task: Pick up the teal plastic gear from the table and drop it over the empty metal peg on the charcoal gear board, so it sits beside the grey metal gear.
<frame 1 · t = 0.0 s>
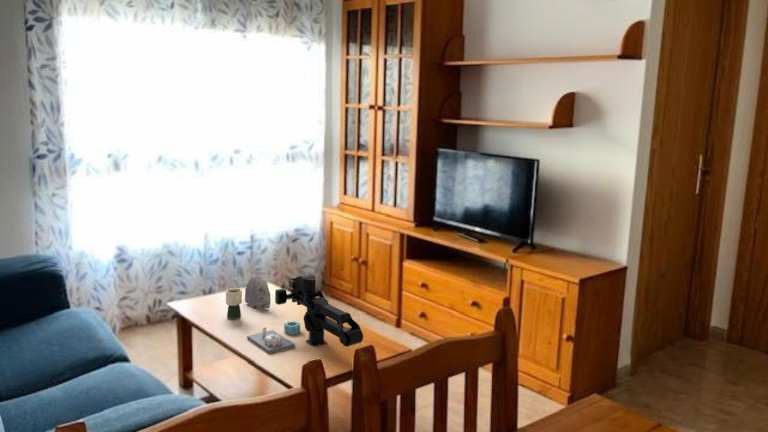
hand: (285, 288, 287), 17 cm above the table, fingers open, 9 cm apart
decorative rock: (257, 307, 311), on the table
gear board: (270, 343, 269), on the table
character mug: (234, 318, 296), on the table
teal gear: (292, 331, 282), on the table
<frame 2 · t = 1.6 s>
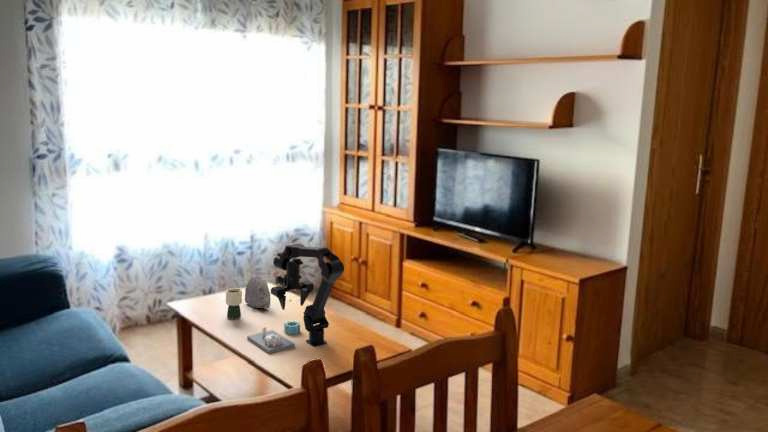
hand: (292, 307, 280), 11 cm above the table, fingers open, 9 cm apart
nothing on the table moved.
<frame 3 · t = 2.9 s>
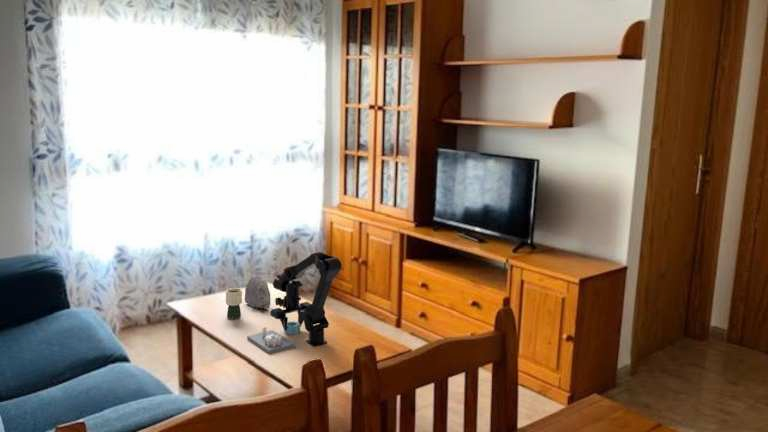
hand: (292, 328, 282), 1 cm above the table, fingers closed on teal gear, 7 cm apart
teal gear: (292, 331, 282), on the table, touching gripper
everything else where it was.
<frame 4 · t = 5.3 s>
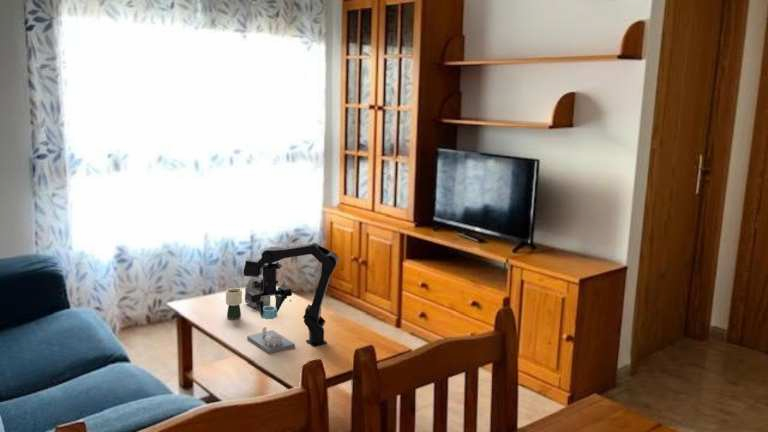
hand: (268, 313, 271), 11 cm above the table, fingers closed on teal gear, 7 cm apart
teal gear: (268, 316, 271), point 10 cm above the table, touching gripper
everything else where it was.
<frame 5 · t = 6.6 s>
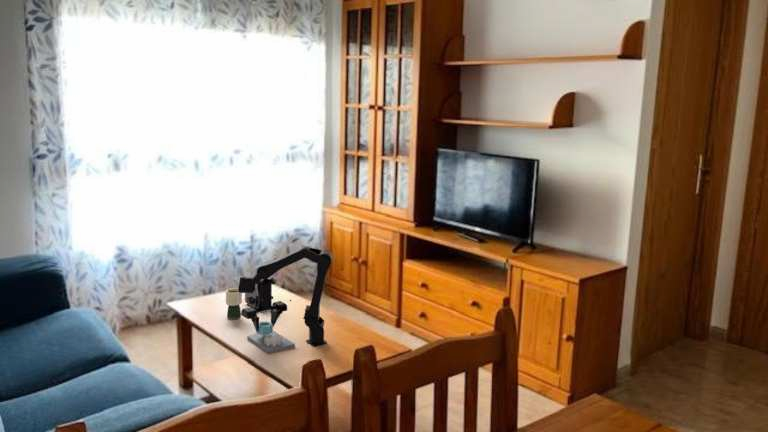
hand: (264, 329, 270), 5 cm above the table, fingers closed on teal gear, 7 cm apart
teal gear: (264, 331, 270), point 4 cm above the table, touching gripper
everything else where it was.
when the fingers open (5 cm above the table, at t = 7.6 s): teal gear drops 2 cm, resting on gear board.
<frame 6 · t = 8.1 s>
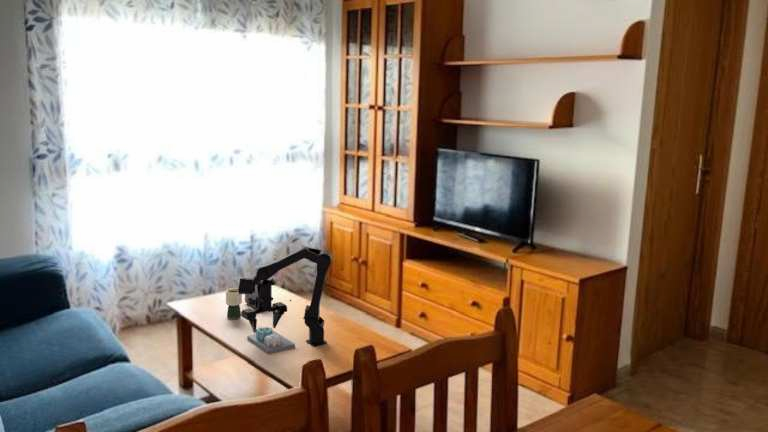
hand: (264, 330, 270), 5 cm above the table, fingers open, 9 cm apart
teal gear: (264, 337, 271), point 1 cm above the table, touching gear board
everything else where it was.
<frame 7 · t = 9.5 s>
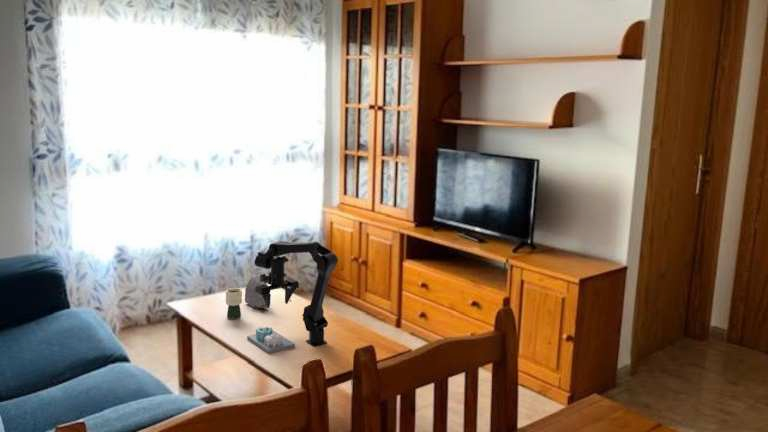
hand: (277, 305, 279), 12 cm above the table, fingers open, 9 cm apart
nothing on the table moved.
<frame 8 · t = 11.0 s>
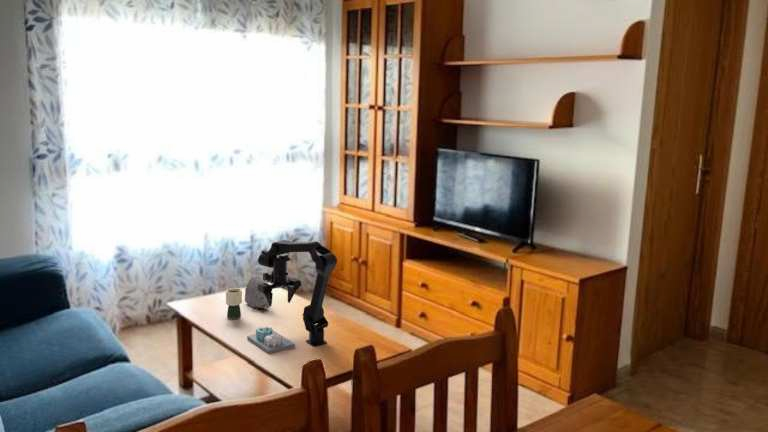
hand: (279, 304, 280), 12 cm above the table, fingers open, 9 cm apart
nothing on the table moved.
at the end: teal gear 0.1 cm from the target spot on the gear board, point 1.5 cm above the gear board's base; the gripper is holding nothing; teal gear tilted 0° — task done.
